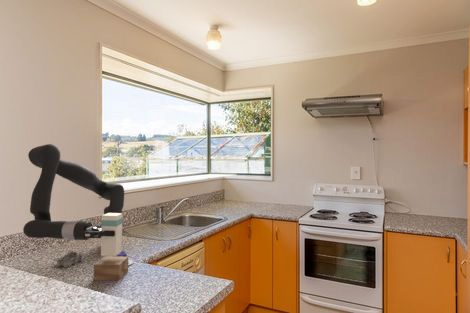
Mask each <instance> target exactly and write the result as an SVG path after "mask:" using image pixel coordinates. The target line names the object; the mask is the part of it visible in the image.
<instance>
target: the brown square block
mask: <svg viewBox="0 0 470 313" xmlns="http://www.w3.org/2000/svg"><path fill="white" fill-rule="evenodd" d="M128 259H129V256H127V257H118V256H103V257H102V258H101V259H99V260H98V261H97V262H95V263H93V281H94V280H96V281H97V280H98V281H120V280H121V279H122V278H123V277H124V276H125V275H126V274H127V273H128V272H129V265H128V263H129V262H128Z"/></svg>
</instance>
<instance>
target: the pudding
mask: <svg viewBox="0 0 470 313" xmlns="http://www.w3.org/2000/svg"><path fill="white" fill-rule="evenodd" d="M116 256H118V257H128V256H127V252H125V251H122V250H121V252H120V253H119V254H118V255H116ZM133 263H134V260H133V259H130V258H128V266H130V265H133Z"/></svg>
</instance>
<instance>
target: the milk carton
mask: <svg viewBox="0 0 470 313" xmlns="http://www.w3.org/2000/svg"><path fill="white" fill-rule="evenodd" d="M123 217H124V216H123V212H122V213H107V214H104V213H103V214H102V215H101V224H102V230H105V231H106V230H108V231H115V236H114V237H109V236H105V237H101V238H100V239H101V240H100V256H103V257H105V256H116V255H118V254H119V253H120V252H121V251H122V245H123V244H122V243H123V242H122V241H123Z"/></svg>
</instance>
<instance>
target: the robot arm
mask: <svg viewBox="0 0 470 313" xmlns="http://www.w3.org/2000/svg"><path fill="white" fill-rule="evenodd" d="M27 156H28V160H29V161H30V163H31V164H32V165H34V167H37V168H39V169H41V172H40V176H39V178H38V180H37V182H36V185H35V187H34V188H33V191H32V193H31V198H30V208H29V211H30V214H31V215H33V216H34V217H33V218H34V219H33V220H30V221H27V223H25V224H24V226H23V228H22V229H23V231H22V232H23V233H24V236H26V237H27V238H31V239H43V238H45V239H46V238H48V239H49V238H50V239H57V240H58V239H59V240H72V241H88V240H89V239H101V237H105V236H109V237H114V236H115V231H108V230H106V231H105V230H102V223H100V224H95V225H94V226H93V224H92V222H91V221H87V220H85V221H84V220H69V221H65V220H59V221H58V220H55V221H53V220H52V218H51V212H50V209H51V208H50V207H51V198H52V191H53V185H54V182H55V179H56V175H57V176H59V177H61V178H63V179H66V180H68V181H70V182H71V183H73V184H75V185H78V186H79V187H81V188H83V189H86V190H88V191H91V192H93V193H95V194H96V195H98V196H99V197H100V198H103V199H104V200H106V201H109V205H108V206H105V207H104V208H103V215H104V214H107V213H123V209H124V205H125V204H124V203H125V188H124V186H123V185H122V184H120V183H110V182H107V181H105V180H102V179H100V178H99V177H98V176H97V175H96V173H95V172H94V171H93V170H92V169H90V168H88V167H86V166H84V165H82V164H80V163H76V162H71V161H68V160H63V159H61V151H60V148H59V147H58V146H57V145H55V144H52V143H47V144H43V145H38V146H36V147H35V146H34V147H33V148H32V149H30V150H29V152H28V155H27Z"/></svg>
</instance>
